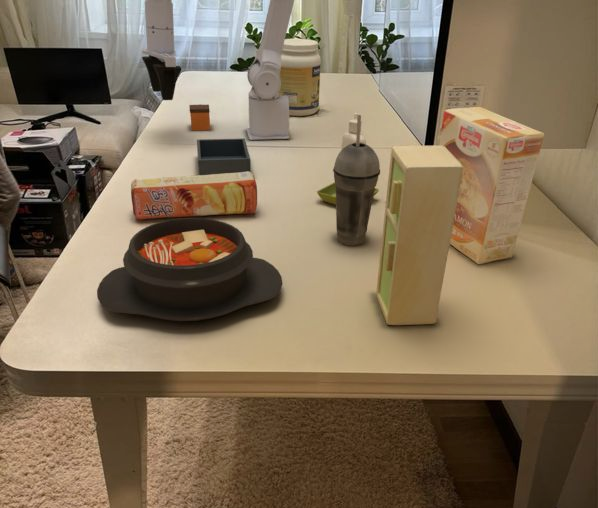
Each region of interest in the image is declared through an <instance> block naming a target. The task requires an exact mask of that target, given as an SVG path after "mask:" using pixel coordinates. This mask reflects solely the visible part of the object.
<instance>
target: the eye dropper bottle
mask: <svg viewBox="0 0 598 508" xmlns="http://www.w3.org/2000/svg"><path fill="white" fill-rule="evenodd" d="M358 115H359V113H357V112H354V113H353V116H352V119H350V120H348V131H345V132H344V133H343V135H342V138H341V150H342V149H343V148H344V147H346V146H347V145H349V144H352V143H356V136H357V118H358ZM361 124H362V120H361ZM360 143H363V144H366V145H367V142H366V138H365V136H364V135H363V133H362V125H361V126H360Z"/></svg>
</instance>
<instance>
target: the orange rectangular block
mask: <svg viewBox="0 0 598 508" xmlns="http://www.w3.org/2000/svg"><path fill="white" fill-rule="evenodd" d="M210 112H211V111H210V104H189V113H190V115H189V116H190V126H191V127H190V128H191V131H194V132H195V131H211V120H210V119H211V118H210Z"/></svg>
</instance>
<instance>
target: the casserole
mask: <svg viewBox="0 0 598 508" xmlns="http://www.w3.org/2000/svg"><path fill="white" fill-rule="evenodd" d="M122 263H123V266H121V267H118V268H115V269H113V270H111V271H110V272H109V273H108V274H106V275H105V276H104V277H103V278H102V279H101V281H100V282H99V283H98V287H97V289H96V296H97V300H98V302H99V304H100V305H101V306H102V307H103V308H104V309H105V310H107V311H109V312H112V313H117V314H118V313H119V314H129V315H130V314H131V315H140V316H146V317H149V318H155V319H159V320H166V321H175V322H176V321H177V322H192V321H195V322H196V321H202V320H210V319H213V318H218V317H222V316H224V315H227V314H231V313H233V312H234V311H237V310H239V309H240V310H241V309H242V308H245V307H247V306H252V305H257V304H260V303H263V302H267V301H269V300H271V299H273V298H275V297H277V296H278V295H279V293H280V292H281V290H282V287H283V277H282V275H281V273H280V271H279V269H277V268H276V267H275V266H274V265H273V264H271V263H270V262H268V261H267V260H266V259H264V258H263V259H262V258H259V257H254V252H253V249H252V247H251V245H250V244H249V243H248V242H247V241H246V238H245V236H244V235H243V233H242V231H240V230H239V229H238V228H237V227H235V226H234V225H232V224H230V223H227V222H226V221H225V222H224V221H221V220H217V219H212V218H203V217H202V218H201V217H180V218H174V219H168V220H162V221H160V222H156V223H153V224H151V225H148V226H146V227H144V228H142V229H140V230H139V231H138V232H136V233H134V234H133V236H132V237H131V238H130V240H129V244H128V248H127V250H126V251H125V253H124V255H123V259H122Z"/></svg>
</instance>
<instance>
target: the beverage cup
mask: <svg viewBox="0 0 598 508" xmlns="http://www.w3.org/2000/svg"><path fill="white" fill-rule="evenodd" d="M361 121H362V115H361V114H358V118H357V136H356V143H352V144H349V145H347V146H346V147H344V148H343V149H342V148H341V149H340V151H339V153H338V154H337V156H336V159H335V161H334V165H333V169H332V171H333V180H334V182H335V184H336V205H335V216H336V217H335V219H336V222H335V224H336V237H337V238H336V239H337V241H338V242H339V243H340V244H343V245H346V246H359V245H362V244H363V243H365V239H366V234H367V231H368V226H369V220H370V216H371V210H372V205H373V201H374V197H373V195H374V189H375V188H376V187H377V184H378V181H379V176H380V174H381V168H380V165H381V164H380V159H379V157H378V155H377V153H376V152H375V150H374V149H373V148H372V147H371V146H370V145H368V144H367V143H366V144H363V143H360V133H361V132H360V126H361V127H362V123H361Z"/></svg>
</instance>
